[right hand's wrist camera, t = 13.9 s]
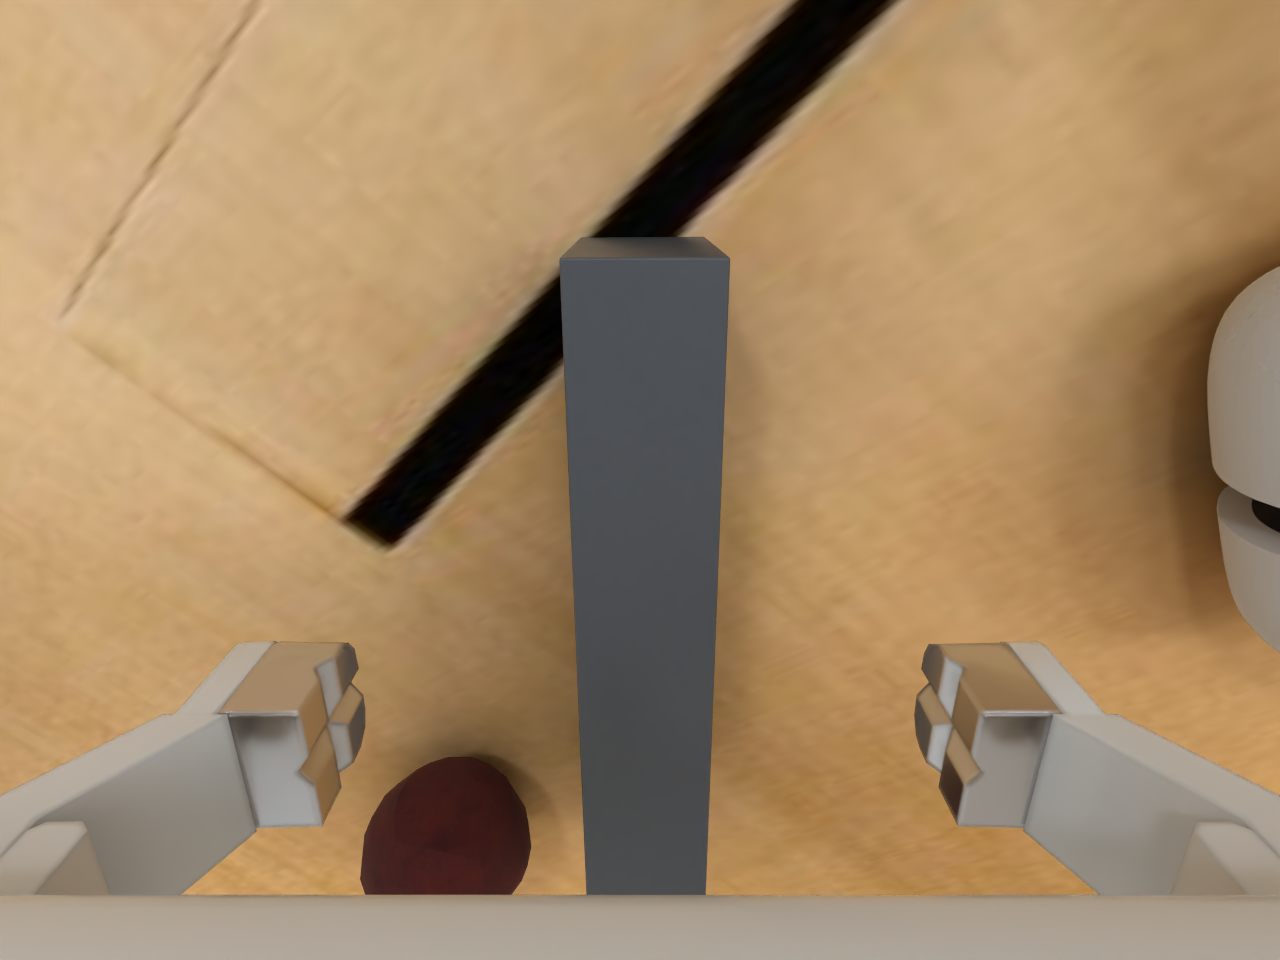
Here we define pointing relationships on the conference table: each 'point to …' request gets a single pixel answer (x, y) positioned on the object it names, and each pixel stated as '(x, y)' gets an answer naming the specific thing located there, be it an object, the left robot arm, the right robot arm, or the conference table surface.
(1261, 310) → the white rounded device
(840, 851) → the conference table surface
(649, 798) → the bar
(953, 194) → the conference table surface
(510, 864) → the dark red plum
